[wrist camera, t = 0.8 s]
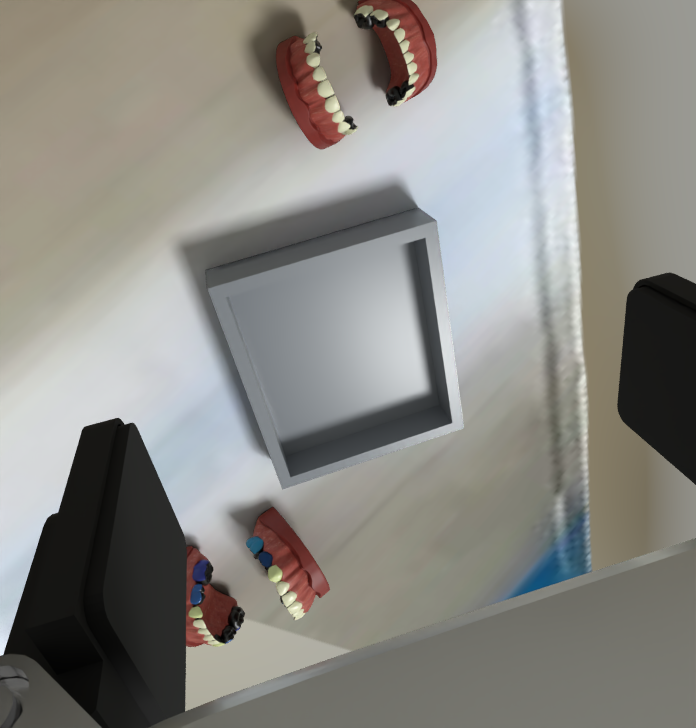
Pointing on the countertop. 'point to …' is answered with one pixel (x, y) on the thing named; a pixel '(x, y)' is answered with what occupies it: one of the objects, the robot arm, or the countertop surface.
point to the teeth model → (284, 563)
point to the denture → (309, 95)
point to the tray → (343, 344)
